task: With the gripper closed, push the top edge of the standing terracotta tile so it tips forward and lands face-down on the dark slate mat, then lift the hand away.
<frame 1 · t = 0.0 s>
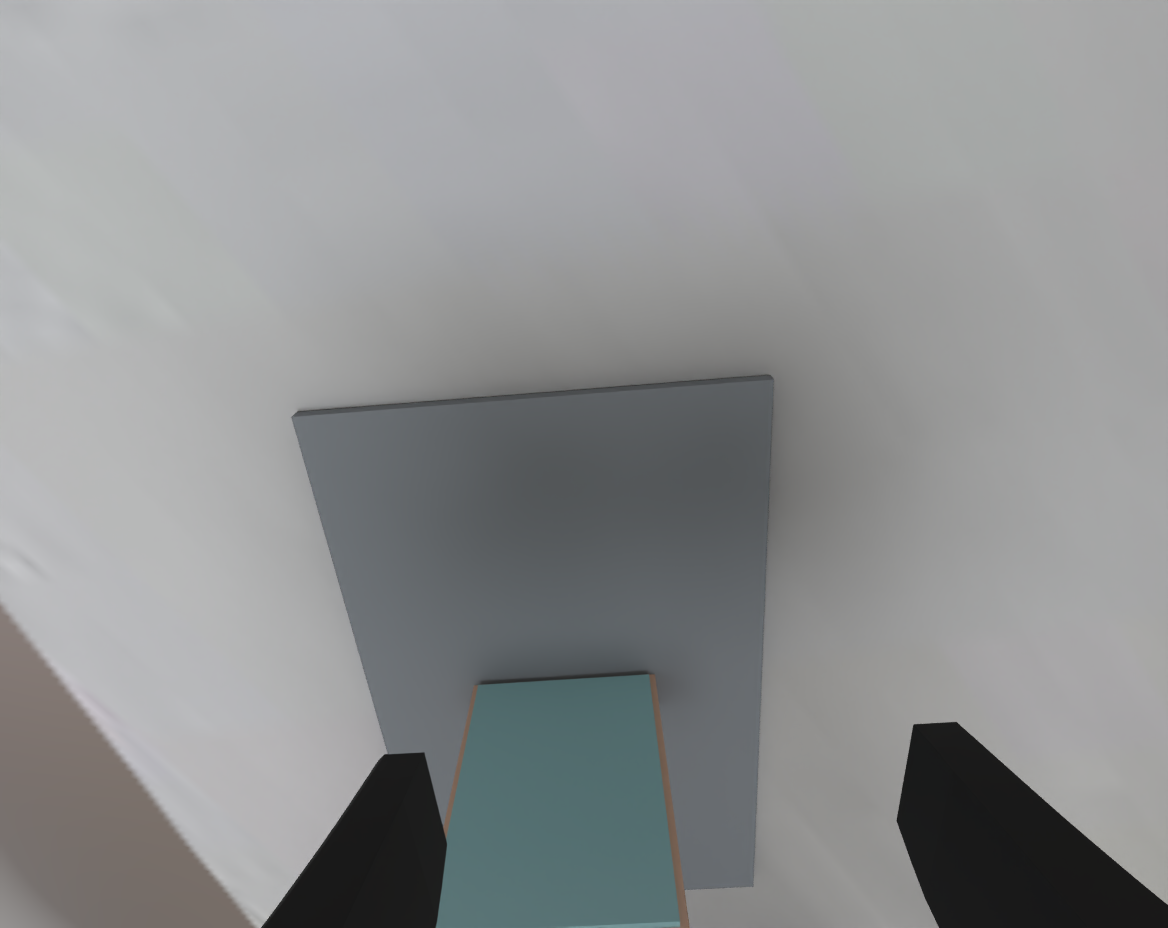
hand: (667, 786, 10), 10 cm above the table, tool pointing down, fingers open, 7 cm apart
tile: (565, 696, 22), resting on mat
mat: (566, 687, 22), on the table
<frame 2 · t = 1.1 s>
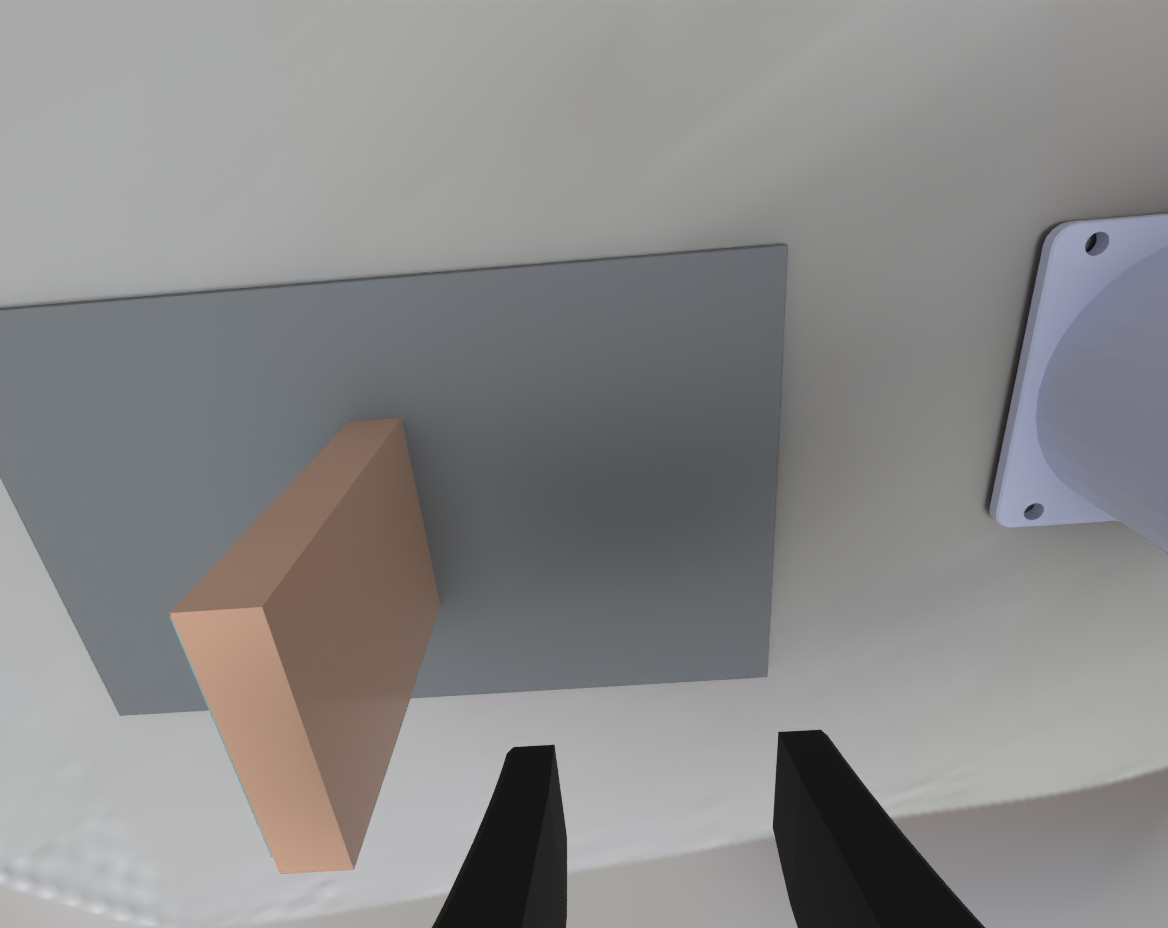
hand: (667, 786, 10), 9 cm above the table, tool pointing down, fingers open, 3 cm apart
tile: (397, 520, 18), resting on mat
mat: (401, 513, 19), on the table
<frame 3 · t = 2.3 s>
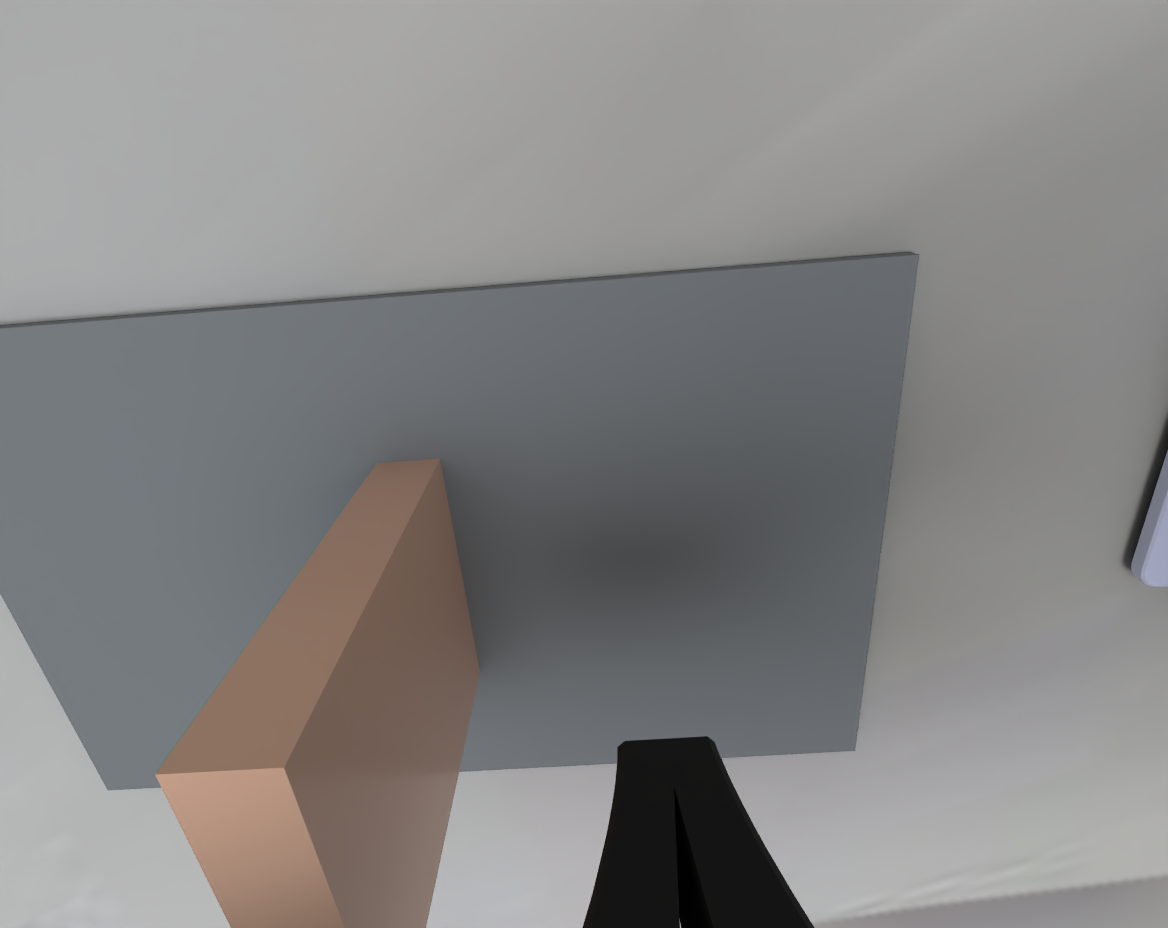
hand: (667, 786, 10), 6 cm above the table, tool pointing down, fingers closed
tile: (432, 575, 15), resting on mat
mat: (436, 566, 16), on the table
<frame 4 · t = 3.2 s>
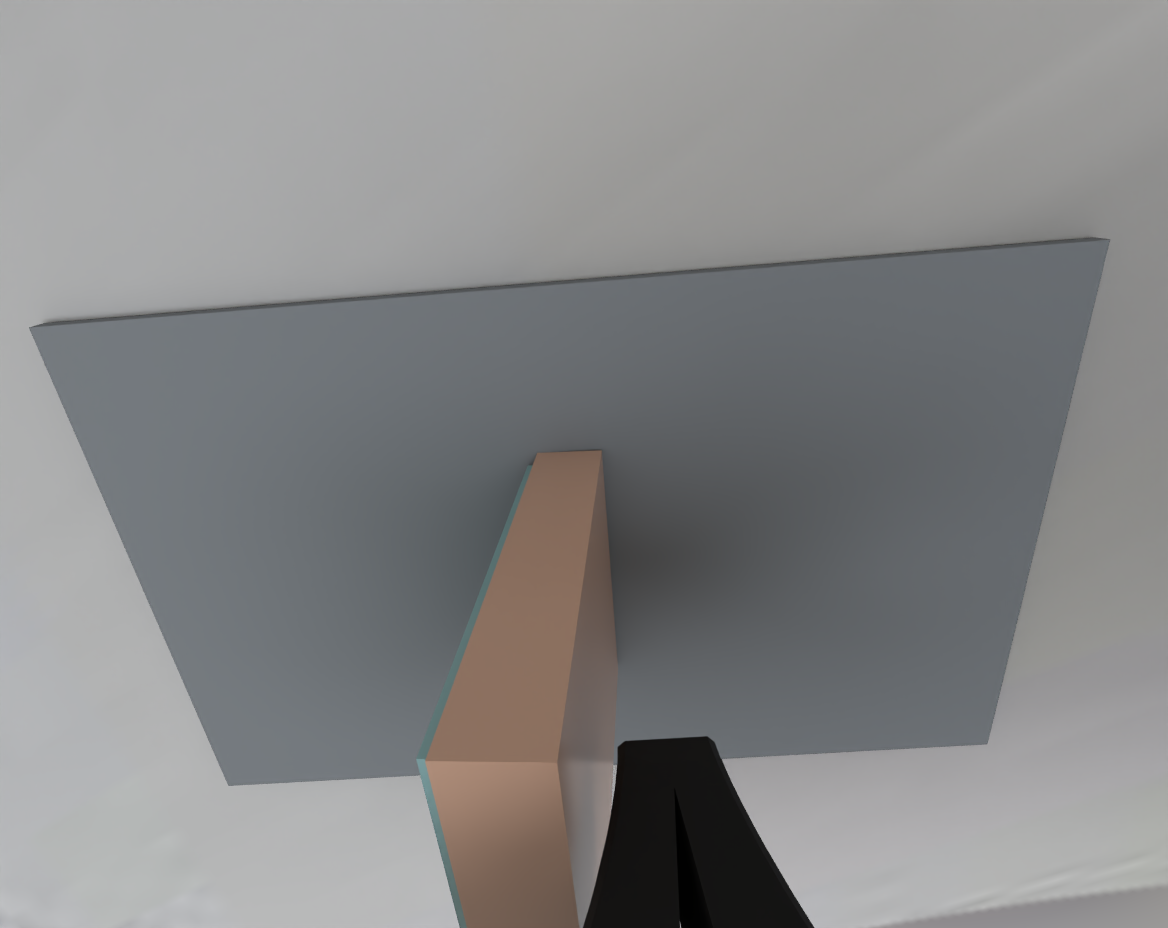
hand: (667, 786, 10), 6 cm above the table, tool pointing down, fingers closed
tile: (580, 568, 15), resting on mat, touching gripper
mat: (580, 558, 16), on the table
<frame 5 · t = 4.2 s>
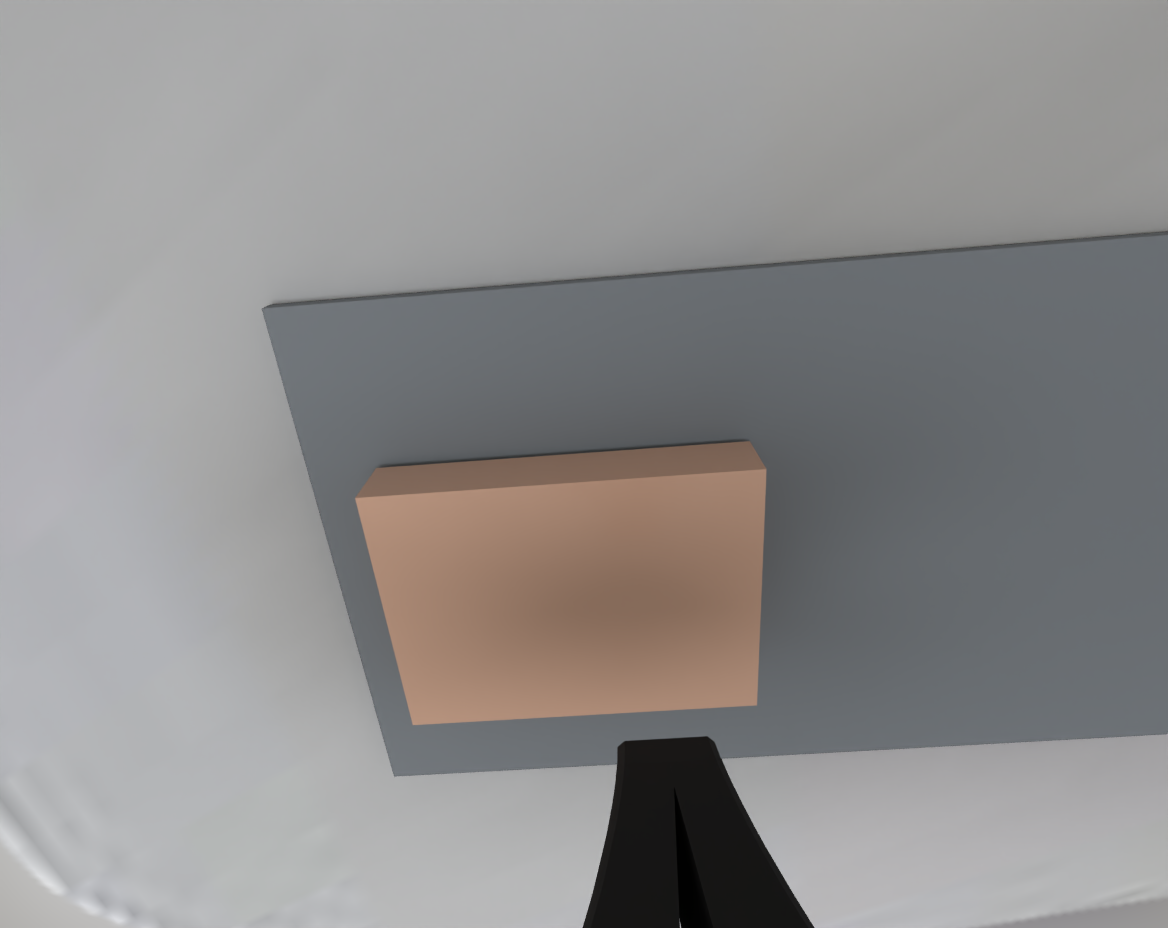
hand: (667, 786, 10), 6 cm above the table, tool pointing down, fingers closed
tile: (753, 578, 14), point 1 cm above the table, tilted 90°, touching mat
mat: (779, 544, 15), on the table
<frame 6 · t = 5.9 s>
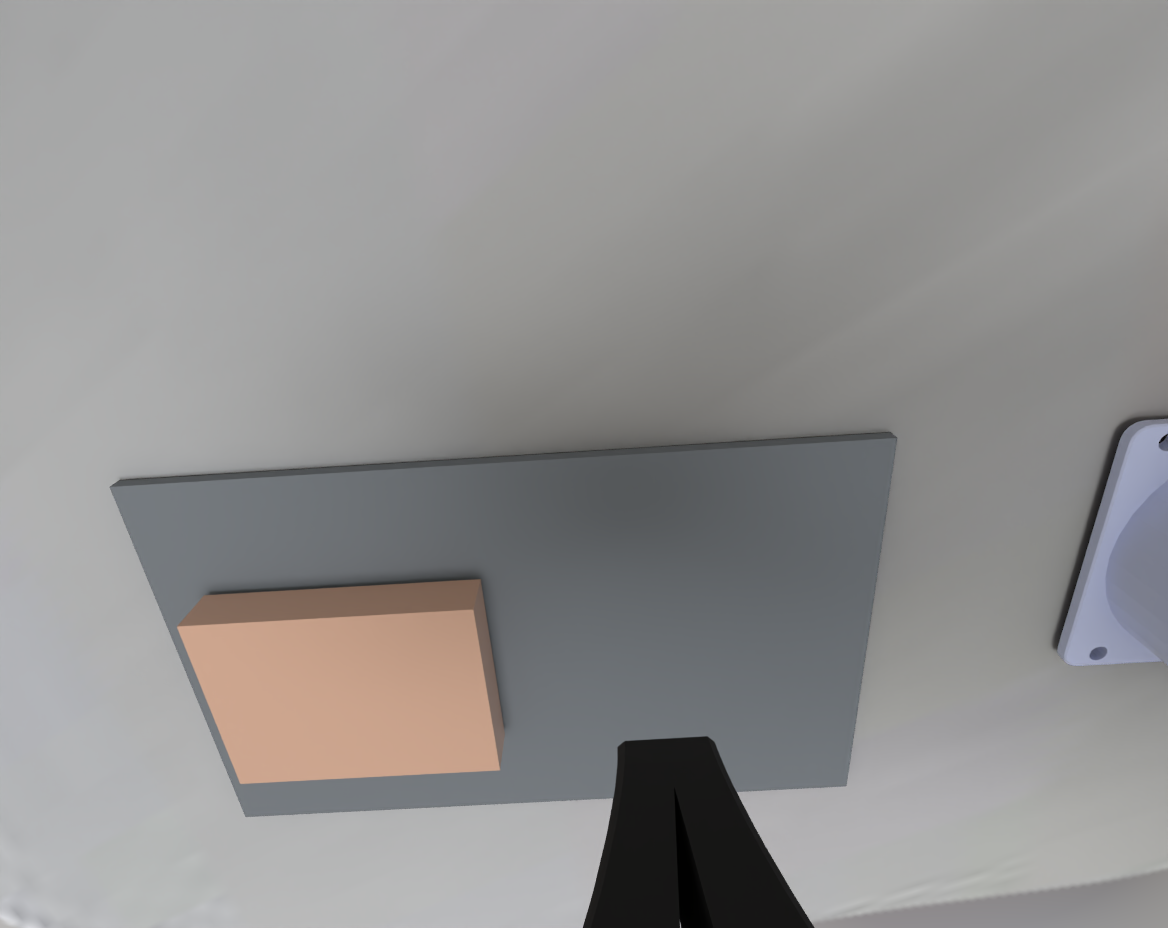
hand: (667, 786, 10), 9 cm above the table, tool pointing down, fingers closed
tile: (490, 677, 19), point 1 cm above the table, tilted 90°, touching mat
mat: (524, 646, 20), on the table
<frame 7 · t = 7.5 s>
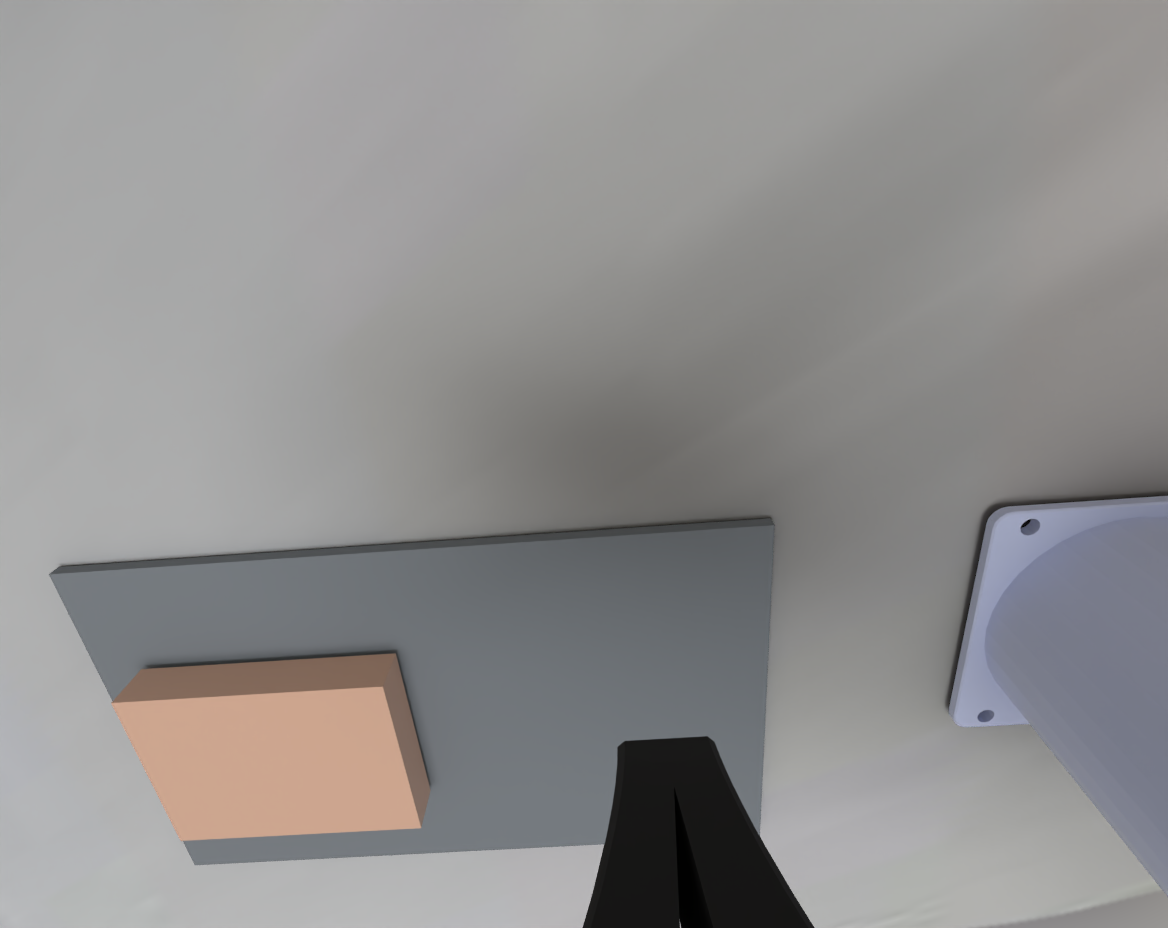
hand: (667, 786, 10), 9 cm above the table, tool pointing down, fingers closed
tile: (408, 743, 20), point 1 cm above the table, tilted 90°, touching mat
mat: (445, 710, 22), on the table
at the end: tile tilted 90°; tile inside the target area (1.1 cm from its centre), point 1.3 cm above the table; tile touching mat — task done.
